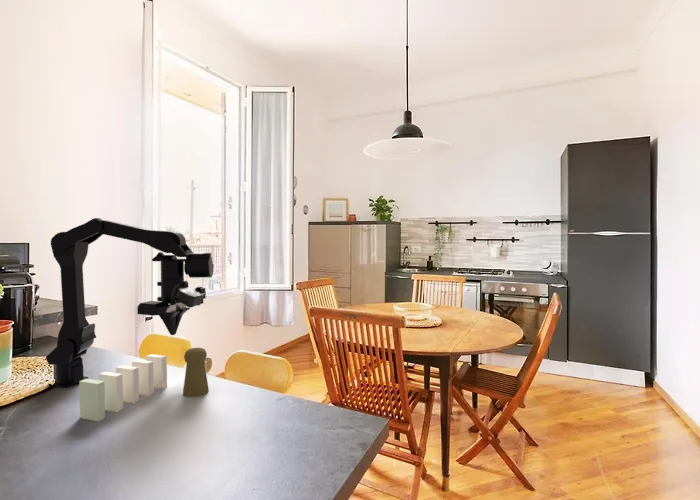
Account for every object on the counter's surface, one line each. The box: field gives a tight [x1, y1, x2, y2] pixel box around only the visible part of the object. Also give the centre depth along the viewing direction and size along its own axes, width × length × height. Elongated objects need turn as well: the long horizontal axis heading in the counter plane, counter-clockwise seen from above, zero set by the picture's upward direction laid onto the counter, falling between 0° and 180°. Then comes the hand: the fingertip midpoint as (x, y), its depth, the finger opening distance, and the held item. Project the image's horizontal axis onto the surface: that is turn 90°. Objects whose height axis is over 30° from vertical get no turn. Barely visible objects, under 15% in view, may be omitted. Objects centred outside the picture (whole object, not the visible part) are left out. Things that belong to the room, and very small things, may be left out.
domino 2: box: [115, 364, 140, 404], centre depth 92 cm, size 2×5×8 cm, turn 73°
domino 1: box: [98, 371, 124, 413], centre depth 87 cm, size 2×5×8 cm, turn 73°
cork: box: [182, 347, 210, 398], centre depth 97 cm, size 6×6×11 cm
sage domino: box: [78, 378, 106, 422], centre depth 83 cm, size 2×5×8 cm, turn 74°
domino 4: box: [145, 353, 168, 390], centre depth 100 cm, size 2×5×8 cm, turn 73°
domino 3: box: [131, 358, 155, 397], centre depth 96 cm, size 2×5×8 cm, turn 73°
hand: (173, 334), depth 106 cm, fingers closed
